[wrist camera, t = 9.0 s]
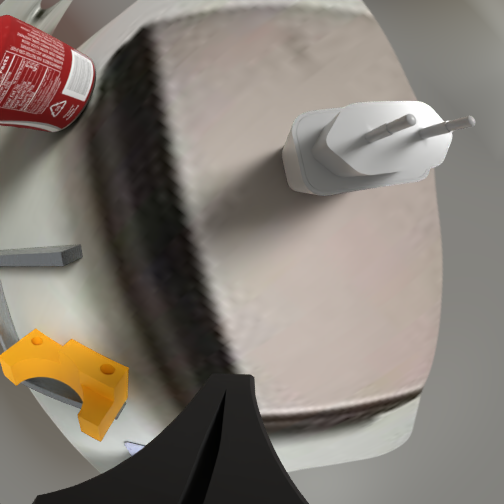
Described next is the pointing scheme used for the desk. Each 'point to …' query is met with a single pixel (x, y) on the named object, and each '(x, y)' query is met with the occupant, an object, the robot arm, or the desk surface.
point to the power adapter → (366, 146)
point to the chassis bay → (3, 327)
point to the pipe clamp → (72, 376)
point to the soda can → (41, 78)
